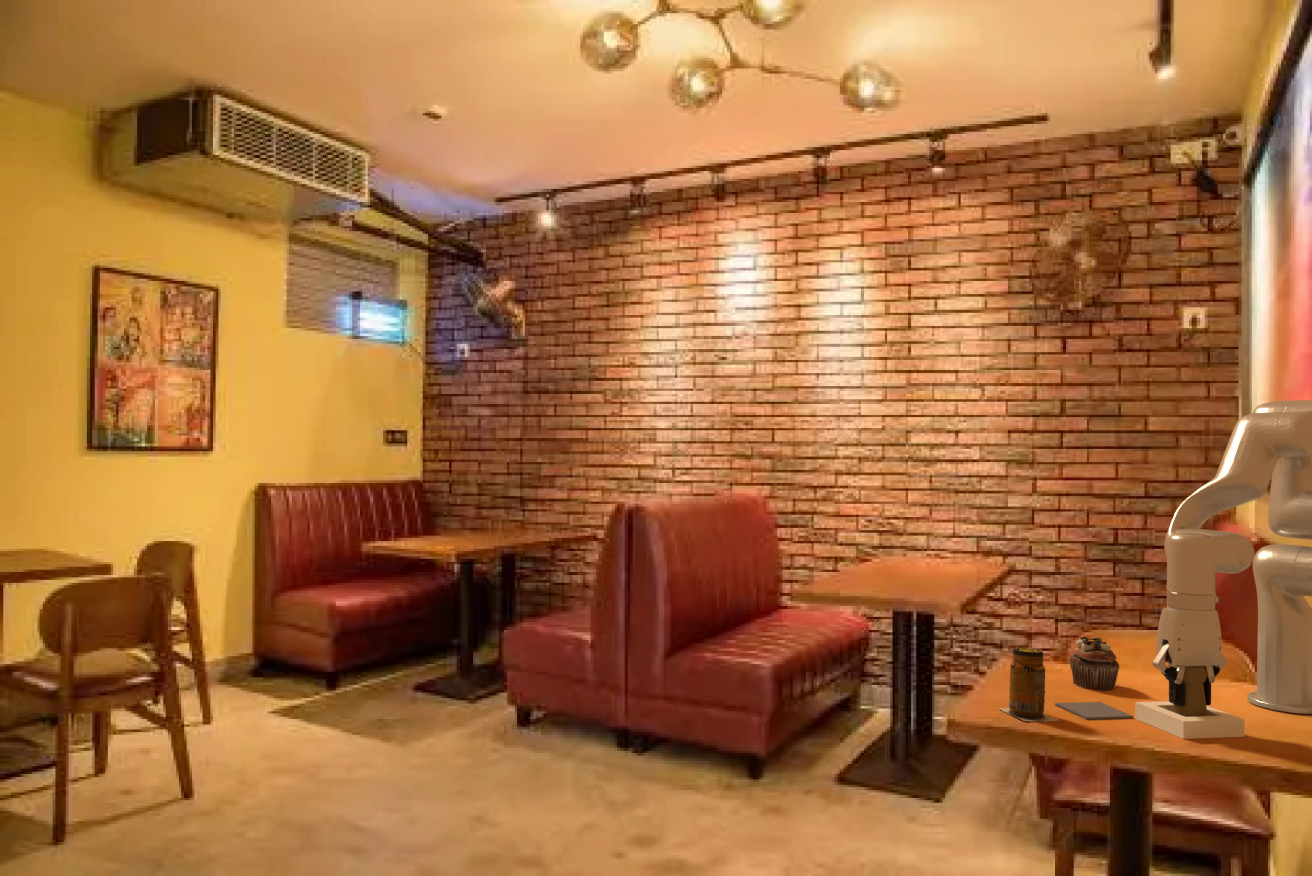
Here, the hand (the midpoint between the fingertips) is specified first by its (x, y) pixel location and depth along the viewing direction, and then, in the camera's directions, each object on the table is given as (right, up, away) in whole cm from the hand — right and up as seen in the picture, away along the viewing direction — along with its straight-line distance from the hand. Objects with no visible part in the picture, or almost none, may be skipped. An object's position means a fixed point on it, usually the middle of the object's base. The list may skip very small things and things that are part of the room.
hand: (1189, 702), depth 165 cm
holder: (0, -4, 0) cm, 4 cm away
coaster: (-13, -4, +9) cm, 16 cm away
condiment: (-27, -4, +5) cm, 28 cm away
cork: (0, -4, 0) cm, 4 cm away
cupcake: (-4, -5, +29) cm, 29 cm away
